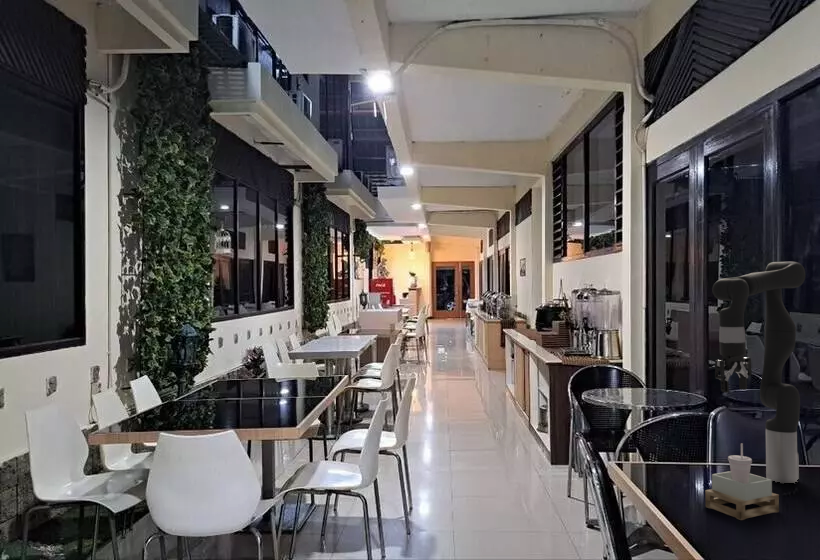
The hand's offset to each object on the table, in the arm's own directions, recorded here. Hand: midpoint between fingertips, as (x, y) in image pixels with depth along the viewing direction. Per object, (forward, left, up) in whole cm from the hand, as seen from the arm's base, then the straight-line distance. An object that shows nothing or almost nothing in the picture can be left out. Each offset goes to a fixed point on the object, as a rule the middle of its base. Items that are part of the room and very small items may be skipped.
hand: (734, 391), depth 200 cm
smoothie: (+11, +11, -28) cm, 32 cm away
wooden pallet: (+11, +11, -33) cm, 36 cm away
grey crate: (+11, +11, -28) cm, 32 cm away
